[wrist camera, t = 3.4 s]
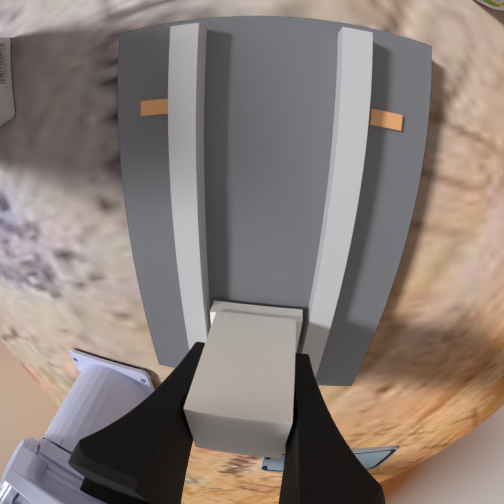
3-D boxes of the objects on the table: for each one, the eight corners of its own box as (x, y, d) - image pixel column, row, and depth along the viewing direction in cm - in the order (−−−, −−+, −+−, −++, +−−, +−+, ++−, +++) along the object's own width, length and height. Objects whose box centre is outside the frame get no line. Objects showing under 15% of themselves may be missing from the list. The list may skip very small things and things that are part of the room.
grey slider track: (348, 367, 17) (352, 398, 15) (166, 348, 18) (153, 376, 16) (416, 51, 8) (443, 42, 6) (137, 39, 9) (106, 29, 7)
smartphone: (375, 468, 26) (259, 470, 27) (375, 462, 27) (260, 464, 28) (401, 447, 22) (265, 451, 23) (400, 440, 23) (266, 443, 24)
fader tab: (293, 357, 14) (287, 458, 9) (217, 348, 15) (189, 445, 10) (302, 307, 13) (302, 423, 8) (213, 298, 13) (174, 406, 8)
